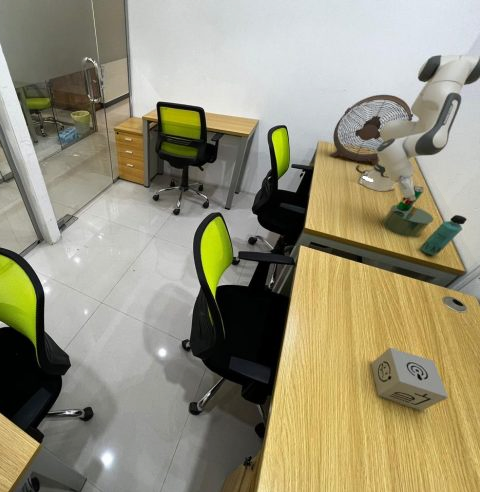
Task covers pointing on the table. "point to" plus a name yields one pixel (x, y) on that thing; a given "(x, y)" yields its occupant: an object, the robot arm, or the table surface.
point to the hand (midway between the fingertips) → (413, 196)
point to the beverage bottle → (443, 235)
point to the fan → (367, 127)
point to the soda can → (406, 202)
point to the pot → (402, 225)
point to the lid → (413, 215)
